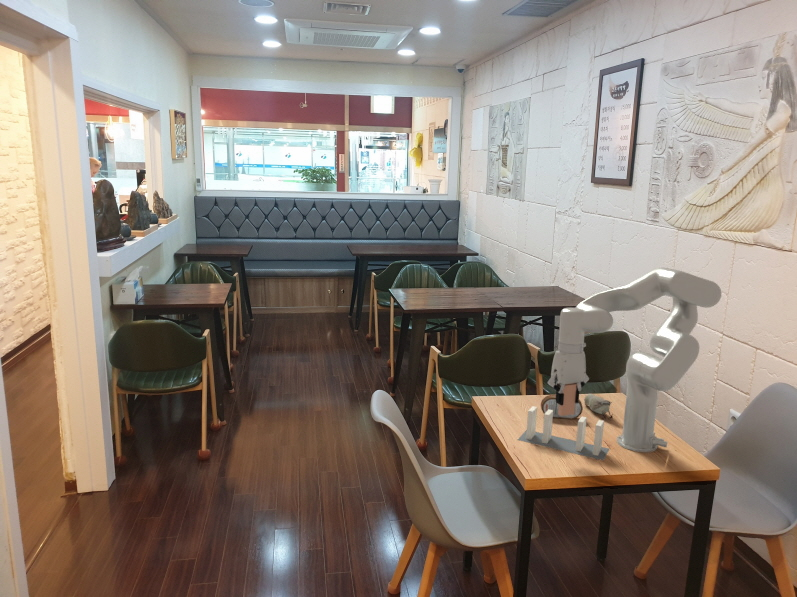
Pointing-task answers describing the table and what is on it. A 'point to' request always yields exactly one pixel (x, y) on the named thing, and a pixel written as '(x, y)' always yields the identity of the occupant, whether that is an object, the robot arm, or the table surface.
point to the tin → (551, 404)
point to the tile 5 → (598, 437)
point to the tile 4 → (581, 433)
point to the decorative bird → (598, 404)
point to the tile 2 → (547, 426)
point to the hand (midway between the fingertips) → (567, 402)
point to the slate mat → (565, 445)
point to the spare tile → (568, 400)
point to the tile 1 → (531, 422)
